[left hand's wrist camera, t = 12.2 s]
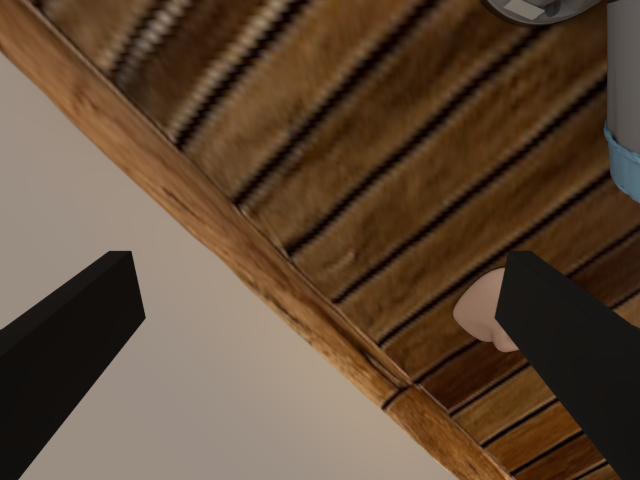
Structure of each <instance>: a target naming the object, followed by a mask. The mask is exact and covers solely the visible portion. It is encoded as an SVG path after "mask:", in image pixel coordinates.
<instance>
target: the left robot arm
mask: <svg viewBox="0 0 640 480" xmlns="http://www.w3.org/2000/svg"><path fill="white" fill-rule="evenodd" d="M480 1H481V2H482V3H483V4H484V5H485V7H487V8H488V9H489V10H490V11H491V12H492V13H493V14H495V15H496V16H498V17H499V18H501V19H503V20H505V21H507V22H510V23H513V24H516V25H521V26H544V25H549V24H553V23H556V22H559V21H562V20H566V19H569V18H571V17H573V16H576V15H578V14H580V13H582V12H584V11H585V10H587V9H589V8H590V7H592V6H594V5H595V4H597V3H598V2H600V1H601V0H480ZM614 1H615V2H614ZM607 3H608V4H607V119H606V121H605V125H604V134H605V137H606V139H607V141H608V147H609V163H610V173H611V176H612V179H613V181H614V182H615V184H616V185H617V187H618V188H619V189H621V190H622V191H623V192H624V193H625V194H627V195H630V197H631V198H632V199H633V200H635V201H636V202H638V203H640V0H618V1H617V0H608V2H607ZM145 318H146V317H145V312H144V308H143V303H142V298H141V294H140V289H139V284H138V280H137V275H136V270H135V266H134V261H133V256H132V252H131V251H109V252H107V253H106V254H104V255H103V256H102V257H100V258H99V259H98V260H96V261H95V262H94V263H92V264H91V265H89V266H88V267H87V268H85V269H84V270H83V271H81V272H80V273H79V274H77V275H76V276H74V277H73V278H72V279H70V280H69V281H67V282H66V283H65V284H63V285H62V286H61V287H59V288H58V289H56V290H55V291H54V292H52V293H51V294H50V295H48V296H47V297H46V298H44V299H43V300H41V301H40V302H39V303H37V304H36V305H35V306H33V307H32V308H30V309H29V310H28V311H26V312H25V313H24V314H22V315H21V316H20V317H18V318H17V319H15V320H14V321H13V322H11V323H10V324H9V325H7V326H6V327H4V328H3V329H1V330H0V480H18V479H19V478H20V477H21V475H22V474H23V473H24V472H25V470H26V469H27V468H28V467H29V465H30V464H31V463H32V462H33V460H34V459H35V458H36V456H37V455H38V454H39V453H40V451H41V450H42V449H43V448H44V446H45V445H46V444H47V443H48V441H49V440H50V439H51V437H52V436H53V435H54V434H55V432H56V431H57V430H58V429H59V427H60V426H61V425H62V424H63V422H64V421H65V420H66V419H67V417H68V416H69V415H70V413H71V412H72V411H73V410H74V408H75V407H76V406H77V405H78V403H79V402H80V401H81V399H82V398H83V397H84V396H85V394H86V393H87V392H88V391H89V389H90V388H91V387H92V386H93V384H94V383H95V382H96V380H97V379H98V378H99V377H100V375H101V374H102V373H103V372H104V370H105V369H106V368H107V366H108V365H109V364H110V363H111V361H112V360H113V359H114V358H115V356H116V355H117V354H118V353H119V351H120V350H121V349H122V348H123V346H124V345H125V344H126V342H127V341H128V340H129V339H130V337H131V336H132V335H133V334H134V332H135V331H136V330H137V329H138V327H139V326H140V325H141V323H142V322H143V321H144V320H145ZM494 318H495V320H496V321H497V322H498V323H499V325H500V326H501V327H502V329H503V330H504V331H505V332H506V334H507V335H508V336H509V337H510V339H511V340H512V341H513V342H514V344H515V345H516V346H517V348H518V349H519V350H520V351H521V353H522V354H523V355H524V356H525V358H526V359H527V360H528V361H529V363H530V364H531V365H532V367H533V368H534V369H535V370H536V372H537V373H538V374H539V375H540V377H541V378H542V379H543V380H544V382H545V383H546V384H547V386H548V387H549V388H550V389H551V391H552V392H553V393H554V394H555V396H556V397H557V398H558V399H559V401H560V402H561V403H562V405H563V406H564V407H565V408H566V410H567V411H568V412H569V413H570V415H571V416H572V417H573V419H574V420H575V421H576V422H577V424H578V425H579V426H580V427H581V429H582V430H583V431H584V432H585V434H586V435H587V436H588V438H589V439H590V440H591V441H592V443H593V444H594V445H595V446H596V448H597V449H598V450H599V451H600V453H601V454H602V455H603V457H604V458H605V459H606V460H607V462H608V463H609V464H610V465H611V467H612V468H613V469H614V470H615V472H616V473H617V474H618V476H619V477H620V478H621V479H622V480H640V328H638V327H636V326H634V325H631V324H630V323H629V322H627V321H626V320H625V319H623V318H622V317H621V316H619V315H618V314H616V313H615V312H614V311H612V310H611V309H610V308H608V307H607V306H605V305H604V304H603V303H601V302H600V301H599V300H597V299H596V298H594V297H593V296H592V295H590V294H589V293H588V292H586V291H585V290H584V289H582V288H581V287H579V286H578V285H577V284H575V283H574V282H573V281H571V280H570V279H568V278H567V277H566V276H564V275H563V274H562V273H560V272H559V271H557V270H556V269H555V268H553V267H552V266H551V265H549V264H548V263H547V262H545V261H544V260H542V259H541V258H540V257H538V256H537V255H536V254H534V253H533V252H531V251H509V252H508V256H507V261H506V266H505V270H504V275H503V280H502V284H501V289H500V294H499V298H498V303H497V308H496V312H495V317H494Z"/></svg>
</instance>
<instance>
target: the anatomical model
mask: <svg viewBox="0 0 640 480" xmlns="http://www.w3.org/2000/svg"><path fill="white" fill-rule="evenodd" d="M504 270H505V268H499V269H496V270H493V271H491V272H489V273H487V274H485V275H484V276H482V277H481V278H479V279H478V280H477V281H476V282H475V283H474V284H473V285H471V287H470V288H469V289H468V290H467V291H466V292H465V293H464V294H463V296H462V297H461V298H460V299H459V301H458V302H457V304H456V306H455V308H454V311H453V316H454V318H455V320H456V321H457V322H458V323H459V325H461V326H462V327H463V328H464V329H465V330H466V331H467V332H468V333H470V334H471V335H473V336H474V337H476V338H478V339H480V340H482V341H486V342H491V341H493V342H494V344H495V346H496V348H497V349H499V350H500V351H503V352H509V351H515V350H519V349H518V348H517V346H516V345H515V344H514V342H513V341H512V340H511V339H510V337H509V336H508V335H507V334H506V332H505V331H504V330H503V329H502V327H501V326H500V325H499V323H498V322H497V321H496V320H495V318H494V317H495V312H496V308H497V303H498V298H499V294H500V289H501V284H502V280H503V275H504Z"/></svg>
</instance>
